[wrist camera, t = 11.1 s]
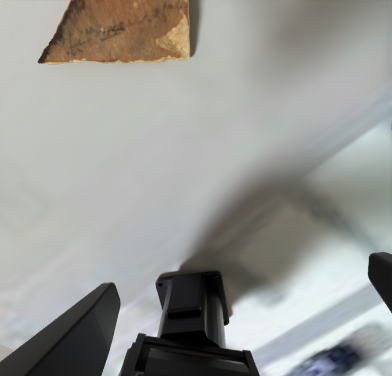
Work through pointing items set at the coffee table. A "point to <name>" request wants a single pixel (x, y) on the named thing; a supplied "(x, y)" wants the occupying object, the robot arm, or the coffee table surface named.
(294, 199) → the coffee table surface
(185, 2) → the shard
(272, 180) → the coffee table surface
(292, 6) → the coffee table surface
